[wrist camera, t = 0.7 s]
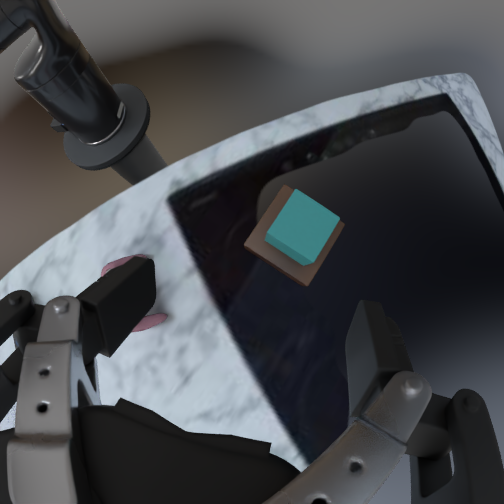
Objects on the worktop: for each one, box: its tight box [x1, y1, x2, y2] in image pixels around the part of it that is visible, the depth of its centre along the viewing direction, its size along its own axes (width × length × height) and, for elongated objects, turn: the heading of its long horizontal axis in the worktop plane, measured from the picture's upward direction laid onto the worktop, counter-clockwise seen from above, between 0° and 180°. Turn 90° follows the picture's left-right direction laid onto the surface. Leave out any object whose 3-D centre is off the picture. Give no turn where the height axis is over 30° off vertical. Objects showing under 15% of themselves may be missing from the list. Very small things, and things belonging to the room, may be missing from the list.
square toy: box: [265, 189, 340, 266], centre depth 31 cm, size 6×6×6 cm
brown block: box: [244, 184, 345, 286], centre depth 35 cm, size 9×9×4 cm
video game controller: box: [101, 254, 167, 332], centre depth 34 cm, size 10×5×7 cm, turn 21°
